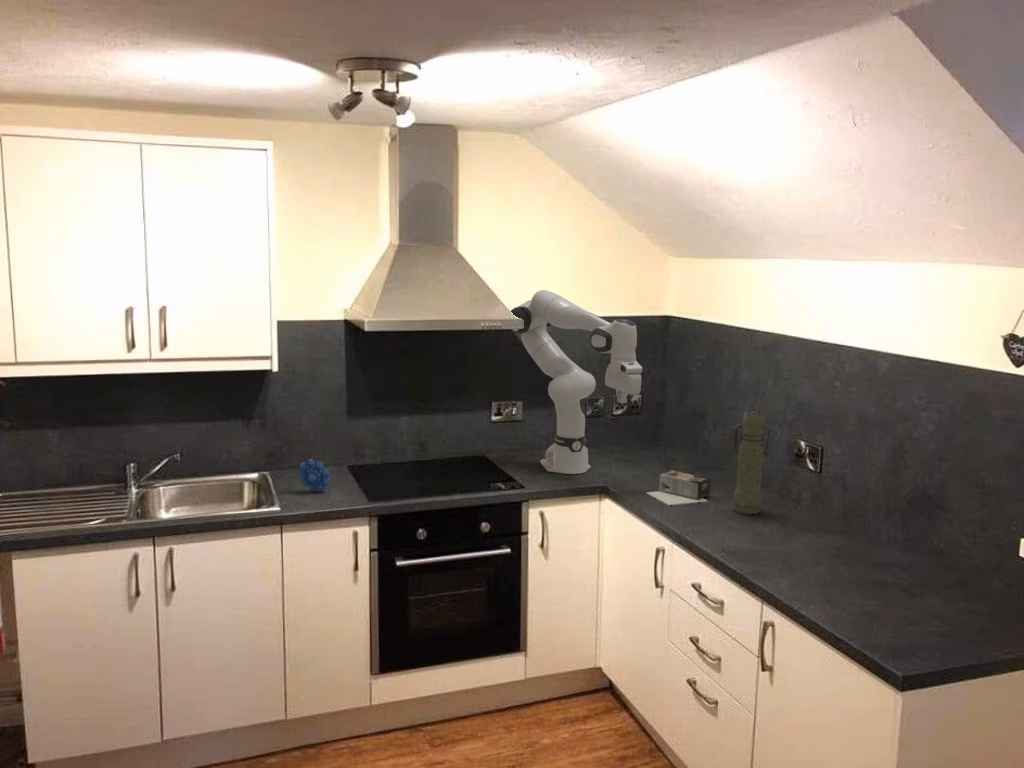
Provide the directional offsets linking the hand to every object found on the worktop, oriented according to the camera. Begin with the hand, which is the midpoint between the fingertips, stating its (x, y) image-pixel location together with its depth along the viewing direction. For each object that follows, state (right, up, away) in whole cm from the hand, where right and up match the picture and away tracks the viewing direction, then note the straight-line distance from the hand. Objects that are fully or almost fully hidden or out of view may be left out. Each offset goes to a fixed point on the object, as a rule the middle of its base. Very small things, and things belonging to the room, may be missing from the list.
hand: (621, 402), depth 312 cm
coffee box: (+17, -29, +8) cm, 35 cm away
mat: (+20, -34, 0) cm, 40 cm away
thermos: (+41, -37, -14) cm, 57 cm away
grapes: (-109, -32, -6) cm, 114 cm away
